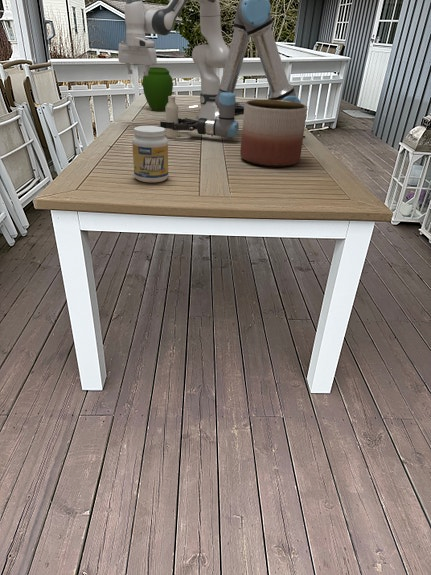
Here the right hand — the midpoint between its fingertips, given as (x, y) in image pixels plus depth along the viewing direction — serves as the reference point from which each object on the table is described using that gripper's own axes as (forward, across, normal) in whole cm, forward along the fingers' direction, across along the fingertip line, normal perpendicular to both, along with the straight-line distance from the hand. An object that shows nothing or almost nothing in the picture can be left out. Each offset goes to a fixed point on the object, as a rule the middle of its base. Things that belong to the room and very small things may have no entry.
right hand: (165, 122), depth 204 cm
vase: (+30, +67, -6) cm, 74 cm away
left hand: (+14, +2, +20) cm, 25 cm away
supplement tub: (-21, -69, -6) cm, 72 cm away
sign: (-22, +99, -6) cm, 102 cm away
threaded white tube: (-4, 0, -6) cm, 7 cm away
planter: (-57, -26, -6) cm, 63 cm away
